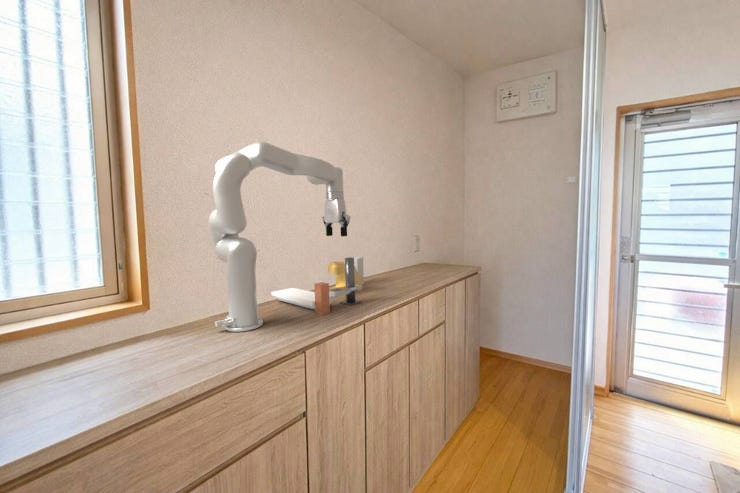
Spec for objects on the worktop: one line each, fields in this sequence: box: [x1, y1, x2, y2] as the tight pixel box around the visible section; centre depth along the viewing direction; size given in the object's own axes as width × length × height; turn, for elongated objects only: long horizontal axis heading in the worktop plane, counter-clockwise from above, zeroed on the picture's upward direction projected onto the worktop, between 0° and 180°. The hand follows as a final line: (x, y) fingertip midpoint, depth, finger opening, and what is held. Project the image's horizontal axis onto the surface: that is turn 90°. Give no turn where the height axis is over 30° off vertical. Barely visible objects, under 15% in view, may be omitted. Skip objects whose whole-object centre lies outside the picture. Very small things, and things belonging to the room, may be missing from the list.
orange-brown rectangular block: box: [314, 281, 331, 316], centre depth 133 cm, size 4×4×12 cm
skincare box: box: [352, 256, 365, 286], centre depth 186 cm, size 8×7×16 cm
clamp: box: [327, 261, 364, 298], centre depth 170 cm, size 20×9×16 cm, turn 150°
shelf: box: [270, 287, 335, 311], centre depth 147 cm, size 12×30×5 cm, turn 47°
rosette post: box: [329, 256, 363, 307], centre depth 146 cm, size 17×8×20 cm, turn 136°
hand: (336, 236), depth 148 cm, fingers open, 9 cm apart
